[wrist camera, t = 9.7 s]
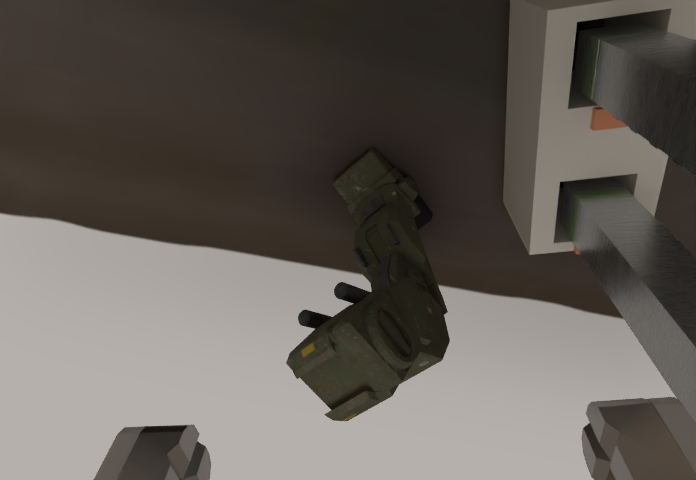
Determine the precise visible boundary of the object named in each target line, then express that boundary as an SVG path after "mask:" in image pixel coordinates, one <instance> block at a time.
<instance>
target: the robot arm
mask: <svg viewBox="0 0 696 480" xmlns="http://www.w3.org/2000/svg"><path fill="white" fill-rule="evenodd" d="M586 414H587V417H588V419H589V421H590V423H589V424H588V425H587V426H585V427H584V428H583V434H582V446H583V453H584V456H585V460H586V464H587V467H588V469H589V472H590V474H591V477H592V478H593V479H594V480H696V423H695V422H694V420H693V419H692V417H691V416H690V414H689V413H688V411H687V410H686V409H685V407H684V406H683V404H682V403H681V402H680V401H679V400H678V399H676V398H674V397H668V398H667V397H666V398H653V399H643V398H640V399H625V400H612V401H597V402H591V403H590V404H589V405H588V408H587V412H586ZM198 437H199V433H198V431H197V429H196V428H195V426H194V425H175V426H144V427H126V428H124V429H123V430H122V431H120V432H119V433H118V435H117V436H116V438H115V440H114V442H113V444H112V446H111V448H110V449H109V452H108V454H107V455H106V457H105V459H104V461H103V463H102V465H101V467H100V469H99V471H98V473H97V475H96V477H95V478H94V480H209V479H210V469H211V461H210V456H209V452H208V450H207V448H206V447H205V446H204V445H202V444H200V443H199V442H197V439H198Z"/></svg>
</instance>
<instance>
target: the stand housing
mask: <svg viewBox="0 0 696 480" xmlns="http://www.w3.org/2000/svg"><path fill="white" fill-rule="evenodd" d="M602 18H604V23H603V27H608V26H615V25H622V24H629V23H636V22H638V23H642V24H645V25H648V26H651V27H656V28H659V29H663V30H664V31H668V32H671V33H674V34H677V35H681V36H684V37H687V38H690V39H694V40H696V0H510V20H509V48H508V76H507V104H506V132H505V160H504V188H503V203H504V205H505V207H506V209H507V211H508V213H509V215H510V217H511V219H512V221H513V223H514V225H515V227H516V229H517V231H518V233H519V235H520V237H521V239H522V241H523V243H524V245H525V247H526V249H527V251H528V253H529V255H532V254H543V253H554V252H565V251H574V252H575V254H580V252H579V251H578V249H577V248H576V246H575V245H574V244H573V242H572V241H571V239H570V238H569V236H568V234H567V233H566V231H565V230H564V228H563V227H562V225H561V224H560V213H561V204H562V195H563V188H559V187H560V182H564V181H573V180H582V179H583V180H587V179H596V178H605V177H614V178H615V179H616V180H617V181H618V182H619V183H620V184H621V185H622V186H623V187H624V188H626V189H627V190H628V191H629V192H630V193H631V194H632V195H633V196H634V197H635V198H636V199H637V200H638V201H639V202H640V203H641V204H642V205H643V206H644V207H645V208H646V209H647V210H648V211H649V212H650V213H651V214H652V215H653V216H654V215H655V210H656V206H657V202H658V198H659V193H660V189H661V185H662V181H663V176H664V172H665V168H666V164H667V159H668V155H667V154H665V153H664V152H663V151H661V150H660V149H656V148H655V147H653V146H652V145H651V144H650V142H649V141H647V140H646V139H645V138H643V137H642V136H641V135H639V134H638V133H634V132H633V131H631V130H630V127H628V126H627V125H625V124H624V123H623V122H621V121H620V120H616V119H615V118H614V117H612V114H610V113H609V112H608V111H606V110H605V109H603V108H602V107H601V106H599V105H598V104H596V103H595V102H594V101H592V100H590V99H589V98H587V97H586V96H585V95H584V94H583V93H581V92H580V91H579V90H577V89H576V88H574V87H573V82H574V73H575V70H573V71H572V65H573V56H574V46H575V37H576V28H577V22H581V21H588V20H595V19H602Z"/></svg>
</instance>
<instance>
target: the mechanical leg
mask: <svg viewBox="0 0 696 480" xmlns="http://www.w3.org/2000/svg"><path fill="white" fill-rule="evenodd" d="M333 187H334V188H335V189H336V190H337V192H338V193H339V194H340V195H341V196H342V198H343V199H344V200H345V201H346V203H347V204H348V206H347V207H346V208H347V209H348V210H349V211H350V213H351V214H352V215H353V214H354V215H353V217H354V223H355V225H356V226H357V227H358V230H357V231H356V233H355V241H354V248H353V256H354V257H355V259H356V261H357V263H358V265H359V267H360V269H361V271H362V273H363V275H364V276H365V277H366V278H367V279H368V280H369V282H370V283H371V288H372V292H368V291H365V290H363V289H360V288H357V287H355V286H352V285H349V284H346V283H343V282H341V283H339V284H337V286H336V287H335V289H334V293H335V296H336V297H337V298H339V299H342V300H345V301H348V302H351V303H354V304H353V305H350V306H348V307H347V308H345V309H344V310H342V311H341V312H340V313H338V314H337V315H335V316H334V317H330V316H327V315H323V314H319V313H316V312H312V311H308V310H303V311H302V312H301V313H300V314H299V316H298V320H299V323H300V324H301V325H302V326H306V327H311V328H315V330H314V331H313V332H312V333H311V334H310V335H309V336H308V337H307V338H306V339H304V340H303V341H302V342H301V343H300V344H299V345H298V346H297V347H296V348H295V349H294V350H293V351H292V352H291V353H290V354H289V357H288V360H287V362H286V363H287V365H288V366H289V367H290V368H291V369H292V370H293V373H294V375H295V376H296V378H297V379H298V378H299V377H300V378H301V379H302V380H303V381H304V382H305V383H306V384H307V385H308V386H309V387H310V388H311V389H312V390H313V391H314V392H315V394H316V395H318V396H319V398H321V400H322V401H323V402H324V403H326V405H327V406H328V407H329V408H330V409H331V410H332V411H330V412H328V413H327V414H325V415H326V416H327V417H329V418H330V419H332V420H337V421H348V420H350V419H352V418H353V417H355V416H357V415H359V414H361V413H362V412H364V411H366V410H368V409H369V408H371V407H373V406H375V405H377V404H379V403H380V402H382V401H384V400H386V399H388V398H390V397H391V396H392V395H393V394H394V392H395V390H396V388H397V387H398V385H399V384H401V383H402V382H404V381H406V380H408V379H409V378H411V377H413V376H415V375H417V374H418V373H420V372H422V371H424V370H426V369H427V368H429V367H431V366H433V365H434V364H436V363H438V362H440V361H441V360H442V359H443V357H444V354H445V352H446V349H447V347H448V344H449V340H450V339H449V336H448V331H447V326H446V322H445V318H444V314H445V313H447V309H446V306H445V303H444V300H443V297H442V295H441V292H440V290H439V287H438V285H437V283H436V280H435V278H434V275H433V272H432V269H431V267H430V264H429V261H428V258H427V256H426V253H425V250H424V248H423V245H422V242H421V239H420V236H419V233H418V229H419V228H421V227H422V226H423V225H425V224H426V223H428V222H429V221H430V220H432V212H431V211H430V209H429V208H428V207H427V205H426V204H425V202H424V201H423V200H422V198H421V197H420V196H419V194H418V193H419V191H418V188H417V186H416V183H415V182H414V181H413V180H412V179H411V178H410V177H406V178H403V176H402V174H401V173H400V172H399V171H398V170H397V169H396V167H394V168H393V167H392V166H391V165H390V164H389V163H388V162H387V161H386V160H385V159H384V158H383V157H382V156H381V155H380V153H379V152H378V151H377V150H376V149H375V148H371V149H370V150H369V151H368V152H367V153H366V154H365V155H363V156H362V157H361V158H360V159H358V160H357V161H356V162H355V163H354V164H353V165H351V166H350V167H349V168H348V169H347V170H345V171H344V172H343V174H341V175H340V176H338V177H337V178H336V179H335V181H334V182H333Z"/></svg>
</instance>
